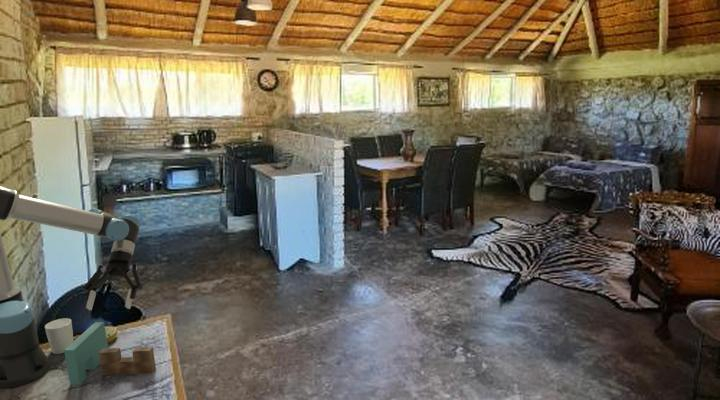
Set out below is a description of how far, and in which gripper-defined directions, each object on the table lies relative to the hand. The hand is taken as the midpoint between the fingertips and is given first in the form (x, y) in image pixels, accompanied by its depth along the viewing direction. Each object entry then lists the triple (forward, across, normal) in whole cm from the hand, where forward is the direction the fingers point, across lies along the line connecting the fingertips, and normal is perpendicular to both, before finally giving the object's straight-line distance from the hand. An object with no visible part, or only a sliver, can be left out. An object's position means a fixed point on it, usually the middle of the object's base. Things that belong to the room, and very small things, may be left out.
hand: (108, 308), depth 164 cm
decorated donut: (+8, +6, -13) cm, 16 cm away
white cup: (+11, +17, -9) cm, 23 cm away
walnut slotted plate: (+23, -14, +3) cm, 27 cm away
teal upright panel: (+21, 0, 0) cm, 21 cm away
